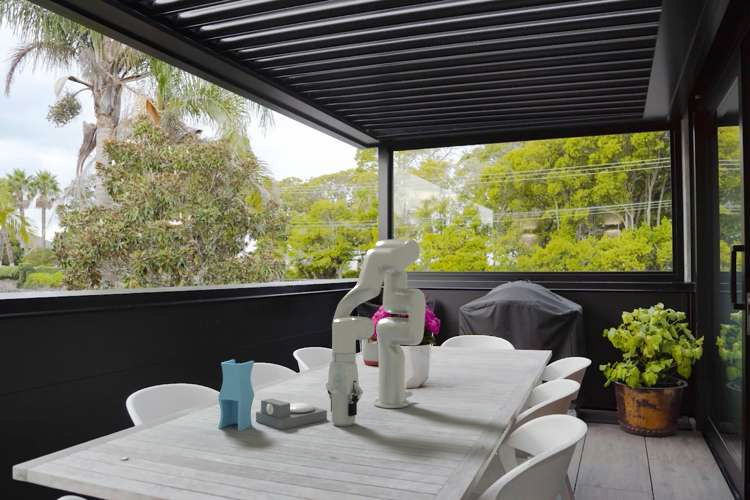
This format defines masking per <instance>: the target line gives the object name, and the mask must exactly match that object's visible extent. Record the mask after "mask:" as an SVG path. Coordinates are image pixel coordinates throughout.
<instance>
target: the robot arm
mask: <svg viewBox="0 0 750 500" xmlns="http://www.w3.org/2000/svg"><path fill="white" fill-rule="evenodd" d="M420 252H421V249H420V244H419V243H418V242H417V240H414V239H403V238H402V239H401V238H400V239H395V238H394V239H382V240H378V241H377V242H376V243H375V244H374V248H371V249H369V250H368V251H366V253H365V256H364V259H363V262H362V265H361V269H360V272H359V275H358V279H357V282H356V284H355V286H354V287H353V288H352V289H351V290H350V291H348V292H347V294H346V295H345V296H344V297H343V298H342V299H341V300H340V301H339V303H338V304H337V307H336V310H335V312H334V316H333V318H332V324H331V328H332V331H331V333H332V337H331V338H332V342H331V343H332V345H331V346H332V347H331V361H330V362H329V363H330V364H329V368H328V378H327V383H325V388H326V390H327V394H328V395H329V400H330V412H331V413H332V391H333V390H335V388H334V387H336V388H340V389H339V391H341V393H342V394H343V395H344V396H347V395H348V399H349V402H350V403H349V404H348V416H350V417H351V416H355V417H356V416H357V415H358V403H359V401H360V399H361V397H362V395H363V394H364V390H363V389H362V388H361V387H360V386H359V372H358V371H359V370H358V364H357V361H356V359H357V355H356V353H357V347H356V346H357V345H356V344H357V340H358V341H359V340H361V341H362V340H366V339H369V338H370V337H372V335H373V334H374V331H375V326H376V334H377V340H378V347H379V365H378V398H377V399H375V400H374V403H373V404H374V405H375V406H376V407H379V408H383V409H401V408H406V407H408V406H409V404H410V401H409V400H407V398H410V397H413V395H414V393H413V391H412V390H410V391H407V390H406V387H405V382H406V381H405V380H406V379H405V374H406V372H405V369H406V356H405V353H404V350H403V348H402V346H417V345H419V344H421V343H422V341H423V338H424V333H425V332H424V331H425V319H426V306H427V304H426V303H427V301H426V296H425V294H424V292H423V291H422V290H421V289H419V288H413V287H412V288H411V287H408V273H407V272H408V271H406V269H408V268H409V267H410V266H412V265H413V264H415V263H416V262H417V260H419V257H420ZM383 282H384V284H383ZM382 286H383V295H382V307H383V310H384V312H385V313H388V314H394V315H395V314H396V315H408V317H407V318H406V317H395V316H394V317H389V316H387V317H384V318H381V319H380V320H379V321H378V322H377V324H376V325H375V323H374V321H373V320H372V319H371V318H369V317H365V316H355V315H354V316H353V315H351V313H352V311H354V309H355V308H357V307H358V306H359V305H361V304H363V303H366V302H367V301H369V300H371V299H374V298H376V297H377V296H379V295H380V293H381V289H382ZM401 345H402V346H401ZM352 391H353V392H354V393H351V392H352ZM351 395H354V397H353V399H352V396H351Z"/></svg>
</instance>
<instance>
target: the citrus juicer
mask: <svg viewBox="0 0 750 500" xmlns="http://www.w3.org/2000/svg"><path fill="white" fill-rule="evenodd" d="M361 355H362V360H363V363H364V364H365V365H366V366H379V347H378V340H377V337H376V336H373V335H372V337H370V338H369V339H366V340H361Z"/></svg>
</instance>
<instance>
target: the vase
mask: <svg viewBox="0 0 750 500" xmlns="http://www.w3.org/2000/svg"><path fill="white" fill-rule="evenodd" d="M254 364H255V361H254V360H250V361H247V362H243V363H236V359H230V360H227V361H224V362H223V361H222V362H221V364H220V365H221V369H222V384H221V388H220V391H219V394H218V399H217V400H218V404H219V407H220V419H219V424H218V428H217V429H220V430H221V429H223V428H225V427H228V426H230V425H237V431H240V432H241V431H244V430H245V429H247V428H249V427H252V426H253V424H252V423H253V422H252V412H251V411H252V406H253V403H254V402H253V401H254V397H255V391H254V388H253V385H252V381H251V380H252V371H253V367H254Z"/></svg>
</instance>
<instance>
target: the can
mask: <svg viewBox="0 0 750 500" xmlns="http://www.w3.org/2000/svg"><path fill="white" fill-rule="evenodd" d="M334 388H335V390H333V391H332V412H331V423H333V425H334V426H337V427H350V426H352V425H354V423H355V422H356V415H355V416H351V417H350V416H348V404H349V403H350V402H349V399H348V395H347V396H344V395H343V394H342V393H341V391H339V389H340V388H336V387H334ZM351 393H354V392H353V391H352V392H351ZM351 396H352V399H353V397H354V395H351Z"/></svg>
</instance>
